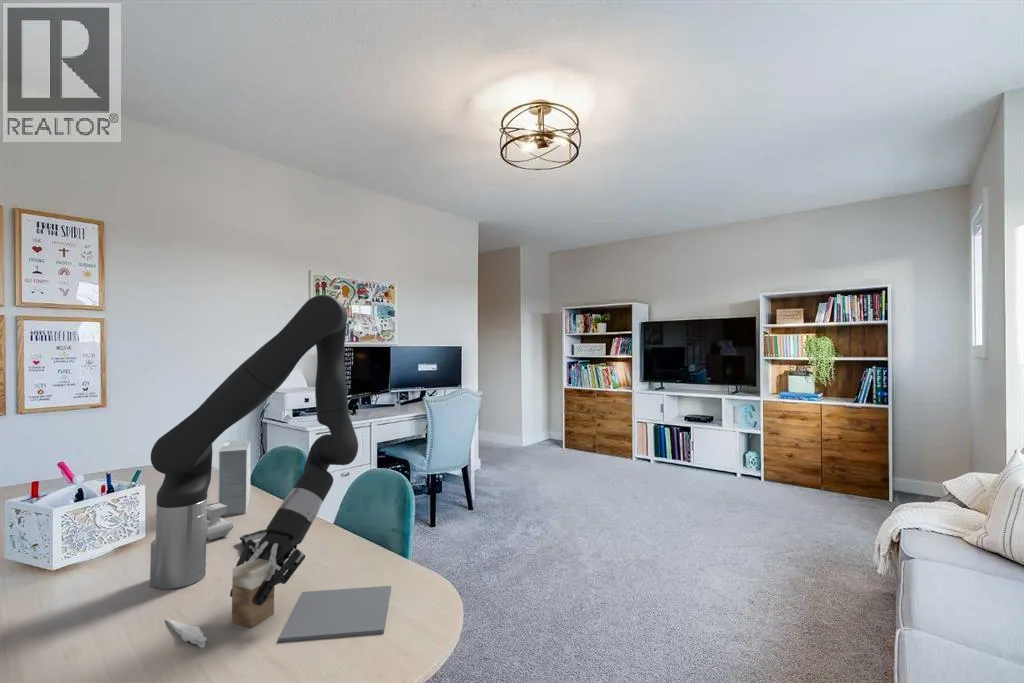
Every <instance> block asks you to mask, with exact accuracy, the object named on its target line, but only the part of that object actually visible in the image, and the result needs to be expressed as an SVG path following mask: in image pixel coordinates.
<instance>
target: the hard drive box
mask: <svg viewBox="0 0 1024 683" xmlns="http://www.w3.org/2000/svg"><path fill="white" fill-rule="evenodd" d="M251 444H252V442H251V440H250V439H243V440H242V439H241V440H229V441H228V440H227V441H224V443H223V445H222V447H221V448H220V449H219V450H218V451H219V452H218V493H217V494H218V496H217V497H218V498H217V500H218V501H217V502H218V503H220V504H223V505H226V506H227V510H226V511H225V514H223V515H221V517H229V516H235V515H236V514H237V515H243V514H244V513H245V514H246V513H247V510H248V507H249V503H250V499H251ZM218 503H217V504H218ZM245 514H244V515H245ZM237 515H236V516H237Z"/></svg>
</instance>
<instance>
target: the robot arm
mask: <svg viewBox="0 0 1024 683" xmlns="http://www.w3.org/2000/svg"><path fill="white" fill-rule="evenodd" d="M347 311H348V310H347V308H346V307H345V306H344V304H343V303H342V302H340V301H339V300H338V299H337V298H335V297H333V296H331V295H327V294H320V295H319V294H318V295H316V296H313V297H311V298H310V299H308V300H307V301H306V302H305V303H304V304H303V305H302V306H301V308H299V310H298V311H297V312H296V314H295V315H294V316H292V317H291V319H290V320H289V321H288V322H287V323H286V325H285V326H284V327H282V329H281V330H280V331H279V332H278V333H277V334H276V335H275V336H273V337H272V338H271V339H269V340H268V341H267V342H265V343H264V344H263V345H262V346H261V347H259V348H258V349H257V350H256V351H255V352H254V353H253V354H252V355H250V356H249V357H248V358H247V359H246V360H245V361H243V362H242V363H241V365H239V366H238V367H236V369H235V370H234V371H233V372H232V373H231V374H229V375H228V377H227V378H225V380H224V381H223V382H222V383H221V384H220V385H218V386H217V387H216V389H215V390H214V391H213V392H211V394H210V395H209V396H208V397H207V398H206V399H205V400H204V402H203V403H201V405H199V407H198V408H197V409H195V410H194V411H193V412H192V413H190V414H189V415H188V416H187V417H185V418H184V419H183V420H182V421H180V422H179V423H178V424H177V425H175V426H174V427H172V428H171V429H170V430H169V431H167V432H166V433H164V434H163V435H161V436H160V437H159V438H158V439H157V440H156V441H155V442H154V444H153V447H152V449H151V452H150V462H151V465H152V467H153V469H154V470H155V471H157V472H159V473H160V474H163V475H164V478H163V481H162V484H161V486H160V487H159V489H158V491H157V493H156V507H155V508H156V512H155V513H156V514H155V516H156V517H155V518H156V519H155V539H154V540H152V541H151V543H150V561H149V562H150V563H149V564H150V569H149V570H150V571H149V576H150V577H149V587H150V588H158V589H161V590H172V589H180V588H183V587H187V586H190V585H193V584H196V583H198V582H199V581H200V580H202V579H203V578H204V577H205V576H206V570H207V569H206V567H207V561H206V560H207V539H206V530H207V521H208V518H207V517H208V515H207V506H208V491H209V487H210V484H211V479H212V469H213V468H212V467H213V465H212V464H213V444H214V442H215V441H216V440H217V439H218V438H219V436H221V435H222V434H224V432H225V431H226V430H228V429H230V427H232V426H233V425H235V424H236V423H237V422H239V421H241V420H242V419H244V418H245V417H246V416H248V415H249V414H251V413H252V412H253V411H254V410H256V409H257V408H258V407H259V406H261V405H262V404H263V403H264V402H265V401H266V400H267V399H268V398H269V397H271V395H272V394H274V393H275V392H276V391H277V390H278V389H279V388H280V387H281V386H282V384H284V383H285V381H286V380H287V379H288V378H289V376H290V375H291V373H292V372H293V370H294V369H295V368H296V366H297V365H298V363H299V361H300V360H301V359H302V357H304V356H305V354H307V353H308V352H309V351H310V350H312V348H314V347H316V357H317V360H316V361H317V362H316V373H315V374H316V375H315V386H314V388H315V390H314V394H315V395H314V396H315V409H316V419H317V422H318V423H319V424H320V425H322V426H326V427H327V428H328V430H329V433H328V434H327V433H326V434H322V435H320V436H319V437H318V438H317V439H316V440H315V441H314V442H313V443H312V445H311V447H310V448H309V451H308V455H307V458H306V461H305V464H304V468H303V471H302V474H301V475H300V476H299V478H298V480H296V483H295V484H294V486H293V487H292V489H291V490H290V492H289V493H288V494H287V496H285V498H284V499H283V501H282V503H281V504H280V506H279V508H278V509H277V510H276V512H275V514H274V515H273V517H272V518H271V520H270V522H269V524H268V525H267V526H266V528H267V533H266V535H265V536H264V537H263V538H260V539H259V540H258V541H257V540H253V541H252V540H251V539H250V540H248V541H247V542H246V545H245V547H243V549H242V551H241V554H240V557H239V558H238V561H237V562H236V565H235V567H237V566H239V565H241V564H243V563H246V562H248V561H250V560H256V559H258V558H259V559H264V560H268V561H269V562H268V564H270V570H269V571H268V573H267V575H266V581H263V582H262V584H261V586H260V588H259V589H258V591H257V593H256V594H255V596H254V598H253V600H252V602H253V603H254V604H256V605H259V606H261V605H262V604H263V603H264V602H265V601H266V599H267V598H268V596H269V594H270V592H271V591H272V589H273V587H274V588H275V586H277V585H278V584H282V585H285V584H287V582H288V581H289V580H290V578H291V577H292V576H293V574H294V573H295V572H296V571H297V569H298V568H299V566H300V565H301V564H302V563H303V561H304V560H305V559H306V554H304V553H303V551H301V550H299V549H298V548H297V547H298V545H300V544H301V543H302V542H303V540H304V538H305V537H306V535H307V534H308V532H309V530H310V528H311V526H312V525H313V523H314V521H315V519H316V518H317V516H318V513H319V511H320V509H321V506H322V504H323V503H324V500H325V499H326V498H327V496H328V494H329V492H330V491H331V488H332V487H333V484H334V477H333V475H332V474H331V473H330V472H329V471H328V469H329V467H330V466H331V465H332V466H347V465H350V464H352V462H354V460H355V459H356V457H357V455H358V452H359V441H358V437H357V434H356V432H355V427H354V425H353V422H352V420H351V417H350V414H349V401H348V388H347V378H346V367H345V342H346V330H347V322H348V312H347ZM274 572H275V575H274ZM229 596H230V597H231V598H232V588H231V589H230V593H229Z"/></svg>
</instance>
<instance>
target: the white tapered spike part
mask: <svg viewBox="0 0 1024 683" xmlns="http://www.w3.org/2000/svg"><path fill="white" fill-rule="evenodd" d="M165 622H167V624H168V625H169V626H170V627H171V628H172V629H173V631H174V632H175V633H177V634H178V635H180V638H181V640H183V642H185V643H189V642H190V644H193V645H197V646H198V647H200V648H206V642H207V641H208V638H207V637H206V636H205V634H204V633H203V632H202V630H201V629H200V627H199V626H198V625H189V624H186V623H183V622H180V621H177V620H174V619H173V620H172V619H169V618H167V619H165Z"/></svg>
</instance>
